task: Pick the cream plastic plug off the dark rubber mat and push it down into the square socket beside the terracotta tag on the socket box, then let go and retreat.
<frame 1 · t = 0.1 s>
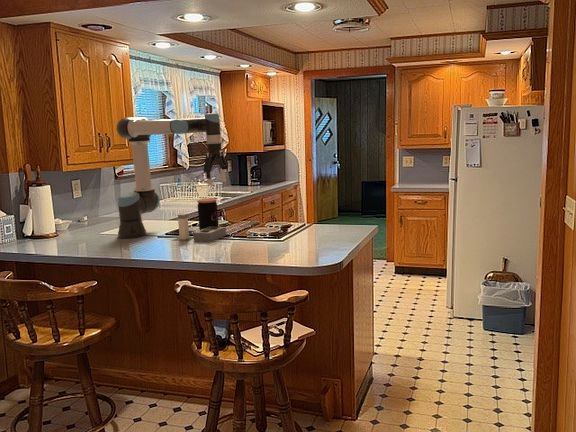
hand: (216, 183, 298), 28 cm above the worktop, fingers open, 13 cm apart
socket box: (210, 239, 292), on the worktop
coffee jar: (209, 232, 311), on the worktop
plug: (184, 238, 293), point 1 cm above the worktop, touching deck mat
deck mat: (184, 239, 293), on the worktop
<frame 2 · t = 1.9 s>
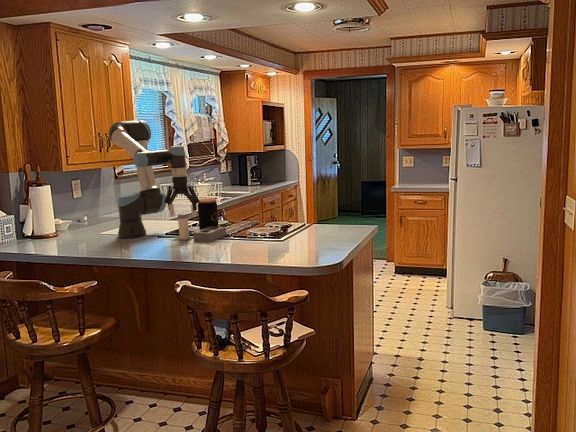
hand: (183, 216, 291), 12 cm above the worktop, fingers open, 13 cm apart
nothing on the worktop moved.
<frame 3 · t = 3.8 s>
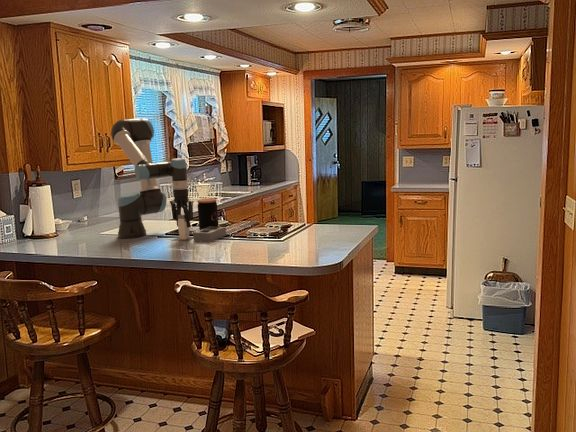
hand: (184, 232, 292), 4 cm above the worktop, fingers closed on plug, 4 cm apart
plug: (184, 238, 293), point 1 cm above the worktop, touching deck mat, gripper
everything else where it was.
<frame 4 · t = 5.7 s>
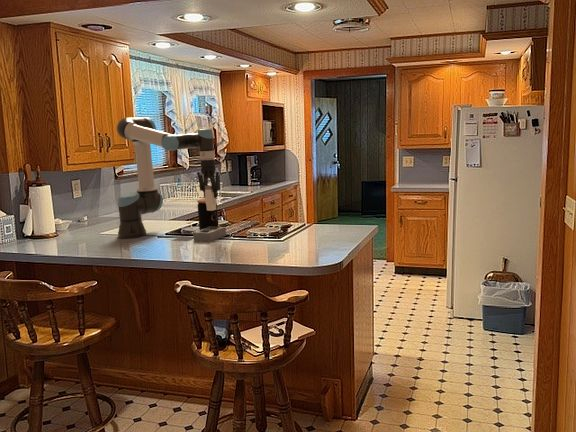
hand: (211, 203, 292), 18 cm above the worktop, fingers closed on plug, 4 cm apart
plug: (211, 209, 292), point 15 cm above the worktop, touching gripper
everything else where it was.
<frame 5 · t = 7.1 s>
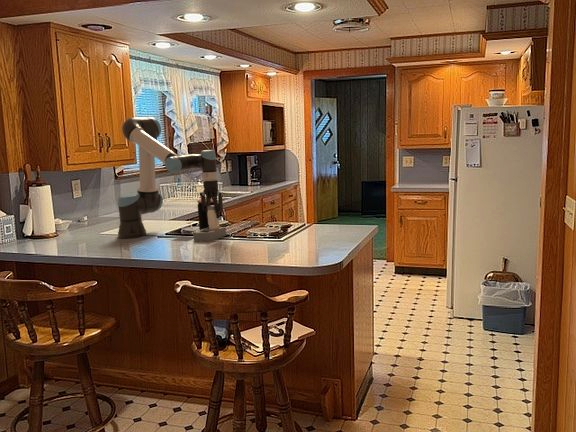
hand: (213, 224, 294), 7 cm above the worktop, fingers closed on plug, 4 cm apart
plug: (214, 230, 294), point 4 cm above the worktop, touching gripper
everything else where it was.
when the fingers open (6 cm above the worktop, at t = 7.9 s): plug drops 2 cm, resting on socket box.
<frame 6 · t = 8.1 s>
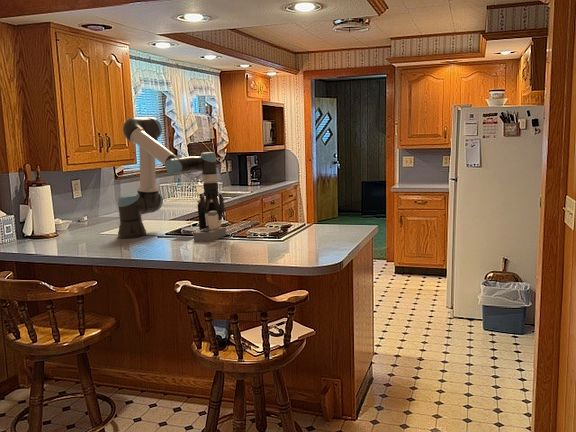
hand: (213, 225, 294), 6 cm above the worktop, fingers open, 6 cm apart
plug: (214, 235, 295), point 1 cm above the worktop, touching socket box
everything else where it was.
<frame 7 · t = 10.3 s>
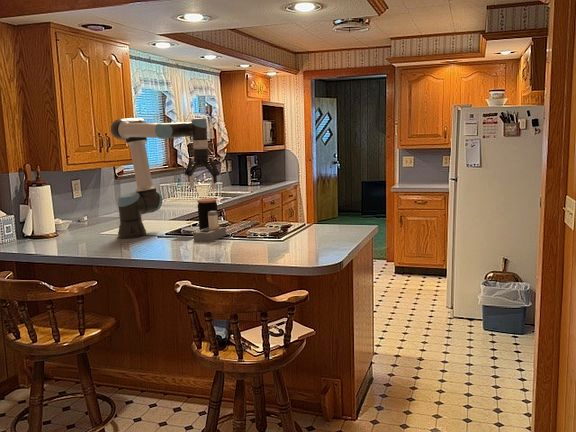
hand: (202, 188, 294), 26 cm above the worktop, fingers open, 13 cm apart
nothing on the worktop moved.
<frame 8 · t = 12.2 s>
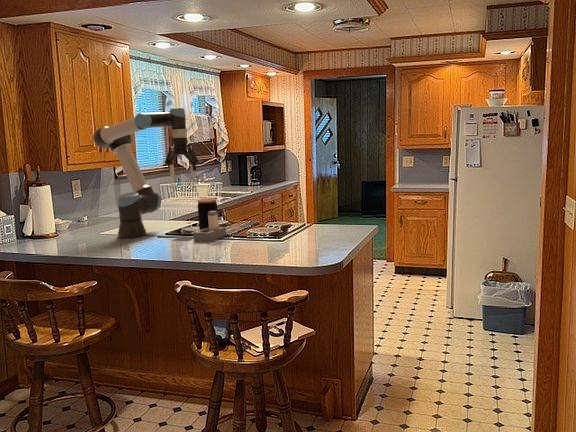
hand: (182, 176, 302), 32 cm above the worktop, fingers open, 13 cm apart
nothing on the worktop moved.
at the end: plug 0.1 cm from the target spot on the socket box, point 1.0 cm above the socket box's base; plug tilted 0°; the gripper is holding nothing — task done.
